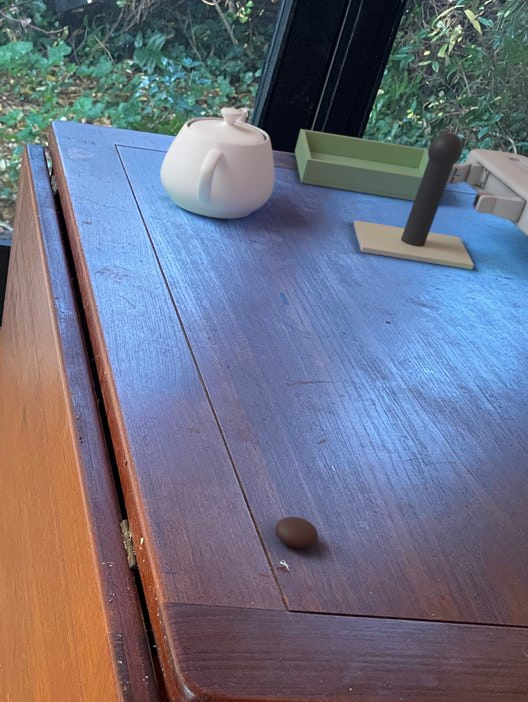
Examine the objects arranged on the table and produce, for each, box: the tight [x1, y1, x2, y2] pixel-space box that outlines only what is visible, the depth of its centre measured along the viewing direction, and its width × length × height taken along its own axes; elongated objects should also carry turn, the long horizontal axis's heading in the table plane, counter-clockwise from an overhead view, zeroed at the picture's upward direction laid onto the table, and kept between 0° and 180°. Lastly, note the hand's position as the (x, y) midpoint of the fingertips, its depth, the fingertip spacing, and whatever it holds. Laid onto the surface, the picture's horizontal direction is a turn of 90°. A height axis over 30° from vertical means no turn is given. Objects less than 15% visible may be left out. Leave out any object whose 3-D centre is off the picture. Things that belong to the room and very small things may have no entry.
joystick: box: [353, 132, 475, 271], centre depth 114 cm, size 13×9×13 cm
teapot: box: [159, 107, 276, 219], centre depth 118 cm, size 22×14×11 cm, turn 162°
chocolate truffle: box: [274, 516, 318, 549], centre depth 70 cm, size 3×3×2 cm
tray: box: [294, 128, 429, 202], centre depth 136 cm, size 18×14×3 cm
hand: (459, 187), depth 115 cm, fingers open, 8 cm apart
